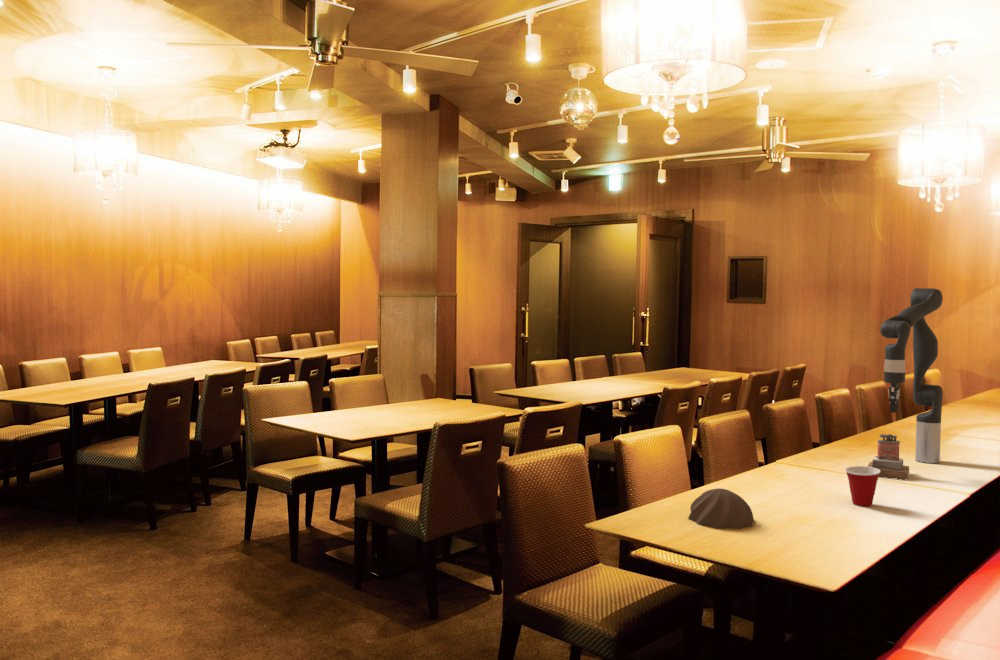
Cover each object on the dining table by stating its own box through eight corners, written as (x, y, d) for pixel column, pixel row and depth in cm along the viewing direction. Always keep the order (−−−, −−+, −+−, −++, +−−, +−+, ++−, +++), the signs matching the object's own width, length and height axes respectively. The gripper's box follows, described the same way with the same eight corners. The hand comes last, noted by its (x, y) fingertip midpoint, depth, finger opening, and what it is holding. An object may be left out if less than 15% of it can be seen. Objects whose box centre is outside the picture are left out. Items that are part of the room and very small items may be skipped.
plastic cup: (836, 501, 252) (837, 466, 252) (860, 499, 256) (861, 464, 256) (862, 510, 242) (863, 473, 242) (887, 507, 246) (888, 471, 246)
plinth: (870, 469, 304) (870, 454, 304) (909, 473, 297) (909, 458, 297) (866, 475, 293) (866, 460, 292) (906, 480, 285) (906, 464, 285)
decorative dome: (706, 531, 218) (706, 497, 217) (678, 513, 237) (678, 481, 237) (766, 528, 221) (767, 495, 221) (734, 510, 241) (735, 480, 240)
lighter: (897, 459, 295) (898, 433, 295) (900, 460, 292) (901, 435, 292) (875, 457, 297) (876, 433, 297) (878, 459, 294) (879, 434, 293)
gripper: (903, 372, 288) (903, 414, 289) (906, 369, 300) (905, 409, 301) (882, 371, 293) (881, 412, 293) (885, 368, 304) (885, 407, 305)
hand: (893, 410), depth 297 cm, fingers open, 8 cm apart
